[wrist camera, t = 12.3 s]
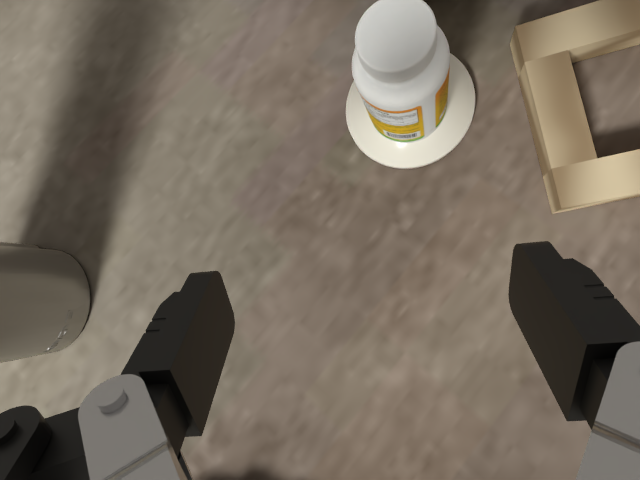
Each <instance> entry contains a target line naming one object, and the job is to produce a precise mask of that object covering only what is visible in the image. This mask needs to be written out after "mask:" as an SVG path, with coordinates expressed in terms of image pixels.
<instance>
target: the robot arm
mask: <svg viewBox="0 0 640 480" xmlns="http://www.w3.org/2000/svg"><path fill="white" fill-rule="evenodd" d="M509 302H510V307H511V310H512V313H513V315H514V317H515V319H516V321H517V323H518V325H519V327H520V329H521V331H522V333H523V335H524V337H525V339H526V341H527V343H528V345H529V347H530V349H531V351H532V353H533V355H534V357H535V359H536V361H537V363H538V365H539V367H540V369H541V371H542V373H543V375H544V377H545V379H546V381H547V383H548V385H549V386H550V388H551V390H552V392H553V394H554V396H555V398H556V400H557V402H558V404H559V406H560V408H561V410H562V412H563V414H564V416H565V418H566V420H567V421H582V420H587V422H588V424H589V426H590V428H591V430H592V431H591V434H590V437H589V440H588V443H587V447H586V450H585V453H584V456H583V459H582V462H581V465H580V468H579V471H578V474H577V477H576V480H640V326H639V325H638V323H637V322H636V321H635V320H634V319H633V317H632V316H631V315H630V314H629V313H628V312H627V310H626V309H625V308H624V307H623V306H622V305H621V303H620V302H619V301H618V300H617V299H614V295H613V294H612V293H611V292H610V291H609V289H608V288H607V287H604V284H603V282H602V281H601V280H600V279H599V278H598V277H597V275H596V274H595V273H594V272H593V271H592V270H591V269H590V268H588V267H586V266H584V265H583V264H581V263H579V262H578V261H576V260H574V259H573V258H572V259H563V258H562V257H561V256H560V255H559V253H558V252H557V251H556V249H555V248H554V247H553V246H552V244H551V243H550V242H548V241H544V242H533V243H522V244H516V245H515V247H514V250H513V257H512V266H511V275H510V284H509ZM89 306H90V289H89V285H88V281H87V278H86V275H85V273H84V271H83V269H82V267H81V266H80V265H79V263H78V262H77V261H76V260H75V259H74V258H73V257H72V256H70V255H69V254H67V253H65V252H63V251H59V250H54V249H40V248H39V247H38V246H36V245H30V244H17V243H4V242H0V363H2V362H7V361H13V360H18V359H23V358H28V357H32V356H37V355H42V354H47V353H52V352H56V351H60V350H62V349H64V348H66V347H67V346H69V345H70V344H71V343H72V342H73V341H74V340H75V339H76V338H77V336H78V335H79V334H80V333H81V331H82V329H83V327H84V325H85V323H86V320H87V316H88V313H89ZM234 327H235V321H234V313H233V310H232V307H231V304H230V301H229V298H228V295H227V292H226V289H225V286H224V283H223V280H222V277H221V275H220V273H219V272H218V271H210V272H199V273H191V274H190V275H189V276H188V278H187V280H186V281H185V283H184V285H183V287H182V289H181V291H180V292H174V293H173V294H171V295H170V296H169V297H168V298H167V299H166V300H165V301H164V302H163V303H162V304H161V305H160V306H159V308H158V309H157V311H156V313H155V315H154V317H153V318H152V322H150V324H149V325H148V327H147V329H146V333H144V334H143V336H142V338H141V340H140V341H139V343H138V345H137V347H136V348H135V350H134V352H133V354H132V355H131V357H130V359H129V361H128V363H127V364H126V366H125V368H124V370H123V371H122V373H121V375H119V376H116V377H113V378H110V379H108V380H106V381H104V382H103V383H101V384H100V385H98V386H97V387H96V388H94V389H93V390H92V391H91V392H90V393H89V394H88V395H87V396H86V398H85V399H84V400H83V402H82V404H81V406H80V407H79V408H76V409H73V410H70V411H67V412H64V413H61V414H58V415H55V416H52V417H48V418H45V419H44V417H43V416H42V415H41V414H40V412H39V411H38V410H37V409H36V408H35V407H32V406H19V407H15V408H12V409H9V410H7V411H5V412H3V413H1V414H0V480H194V479H193V477H192V475H191V472H190V470H189V467H188V465H187V463H186V460H185V458H184V456H183V454H182V452H181V450H180V449H181V447H182V444H183V441H184V438H185V437H189V436H202V433H203V430H204V427H205V424H206V421H207V417H208V414H209V411H210V408H211V404H212V401H213V398H214V395H215V392H216V388H217V385H218V382H219V379H220V376H221V372H222V369H223V366H224V363H225V360H226V356H227V353H228V350H229V347H230V343H231V340H232V337H233V334H234Z"/></svg>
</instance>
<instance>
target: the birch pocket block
mask: <svg viewBox="0 0 640 480" xmlns="http://www.w3.org/2000/svg"><path fill="white" fill-rule="evenodd" d="M636 45H640V0H599V1H596V2H592V3H589V4H586V5H583V6H579V7H576V8H573V9H569V10H566V11H563V12H560V13H556V14H553V15H550V16H547V17H543V18H540V19H537V20H534V21H530V22H527V23H524V24H521V25H517V26H515V29H514V32H513V36H512V39H511V42H510V47H511V51H512V55H513V59H514V63H515V67H516V71H517V75H518V79H519V83H520V87H521V91H522V95H523V99H524V103H525V107H526V111H527V115H528V119H529V123H530V127H531V131H532V135H533V139H534V143H535V147H536V151H537V155H538V159H539V163H540V167H541V171H542V175H543V179H544V183H545V187H546V191H547V195H548V199H549V203H550V207H551V211H552V214H553V213H558V212H563V211H568V210H574V209H579V208H584V207H589V206H594V205H599V204H604V203H609V202H614V201H619V200H624V199H629V198H635V197H640V149H638V150H633V151H629V152H624V153H620V154H615V155H611V156H606V157H602V158H597V155H596V151H595V148H594V144H593V140H592V137H591V133H590V129H589V125H588V122H587V118H586V114H585V111H584V107H583V103H582V99H581V96H580V92H579V88H578V84H577V81H576V77H575V73H574V70H573V66H572V63H575V62H578V61H582V60H585V59H589V58H593V57H596V56H600V55H604V54H607V53H611V52H614V51H618V50H622V49H625V48H629V47H632V46H636Z"/></svg>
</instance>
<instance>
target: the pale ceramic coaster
mask: <svg viewBox="0 0 640 480" xmlns="http://www.w3.org/2000/svg"><path fill="white" fill-rule="evenodd" d="M474 108H475V91H474V85H473V82H472V79H471V77H470V75H469V73H468V71H467V69H466V68H465V66H464V65H463V64H462V63H461V62H460V61H459V60H458V59H457V58H456V57H455V56H454V55H452V54H451V53H450V69H449V83H448V103H447V109H446V113H445V116H444V118H443V120H442V122H441V124H440V125H439V127H438V128H437V129H436V130H435V131H434V132H433V133H432V134H431V135H429V136H428V137H426V138H424V139H422V140H420V141H417V142H413V143H397V142H394V141H391V140H389V139H387V138H385V137H383V136H382V135H381V134H380V133H379V132H378V131H377V130H376V128H375V127H374V125H373V123H372V121H371V119H370V117H369V114H368V112H367V110H366V107H365V105H364V103H363V100H362V98H361V96H360V94H359V92H358V89H357V87H356V84H355V82H353V83H352V86H351V88H350V91H349V94H348V98H347V103H346V119H347V124H348V128H349V131H350V133H351V136H352V138H353V139H354V141H355V143H356V144H357V146H358V147H359V148H360V149H361V151H362V152H363V153H364V154H365V155H367V156H368V157H369V158H371V159H372V160H373V161H375V162H377V163H379V164H381V165H384V166H387V167H391V168H396V169H415V168H420V167H424V166H427V165H430V164H432V163H435V162H437V161H439V160H440V159H442V158H444V157H445V156H446V155H448V154H449V153H450V152H452V151H453V150H454V149H455V148H456V147H457V146H458V144H459V143H460V142H461V141H462V139H463V138H464V136H465V135H466V133H467V131H468V129H469V127H470V124H471V122H472V118H473V114H474Z"/></svg>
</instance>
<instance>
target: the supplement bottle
mask: <svg viewBox="0 0 640 480" xmlns="http://www.w3.org/2000/svg"><path fill="white" fill-rule="evenodd" d="M355 46H356V47H355V50H354V53H353V58H352V74H353V78H354V82H355V84H356V87H357V89H358V92H359V94H360V96H361V98H362V100H363V103H364V105H365V107H366V110H367V112H368V114H369V117H370V119H371V121H372V123H373V125H374V127H375V128H376V130H377V131H378V132H379V133H380V134H381V135H382V136H383V137H385V138H387V139H389V140H391V141H394V142H397V143H413V142H417V141H420V140H422V139H424V138H426V137H428V136H429V135H431V134H432V133H433V132H434V131H435V130H436V129H437V128H438V127H439V125H440V124H441V122H442V120H443V118H444V116H445V113H446V109H447V103H448V83H449V69H450V50H449V45H448V41H447V39H446V37H445V35H444V33H443V31H442V30H441V29H440V27H439V26H438V25H437V23H436V19H435V16H434V13H433V11H432V10H431V8H430V7H429V6H428V5H427V3H426V2H424V1H423V0H378V1H377V2H375V3H374V4H373V5H371V6H370V7H369V8H368V9H367V10H366V12H365V13H364V14H363V16H362V17H361V19H360V21H359V23H358V25H357V28H356V33H355Z"/></svg>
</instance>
